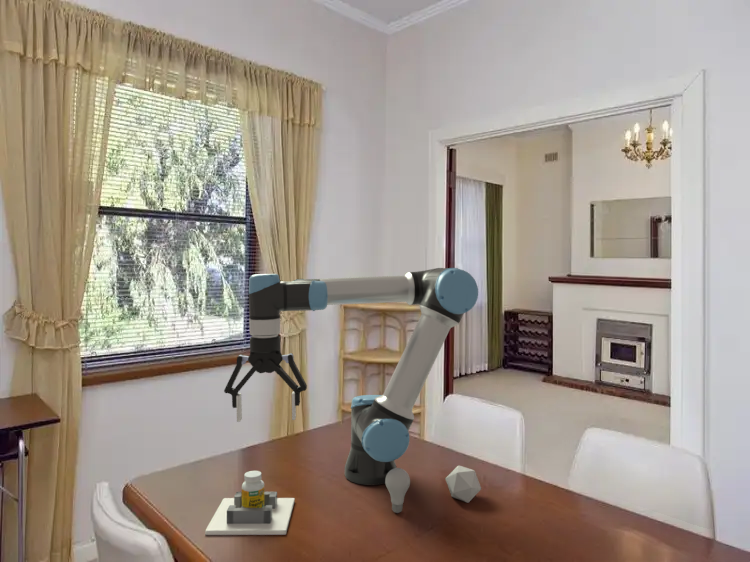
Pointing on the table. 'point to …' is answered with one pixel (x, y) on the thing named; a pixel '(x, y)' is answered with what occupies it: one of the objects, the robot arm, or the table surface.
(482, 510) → the table surface
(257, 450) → the table surface
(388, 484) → the lightbulb
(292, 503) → the socket
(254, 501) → the supplement bottle
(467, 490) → the die
